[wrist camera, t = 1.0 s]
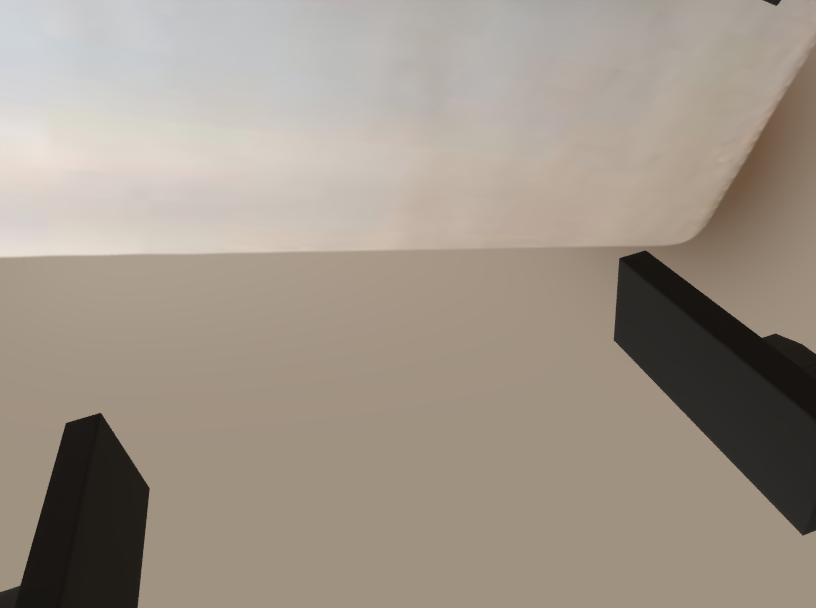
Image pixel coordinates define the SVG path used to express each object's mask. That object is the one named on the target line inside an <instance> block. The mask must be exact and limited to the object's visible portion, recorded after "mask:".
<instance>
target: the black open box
mask: <svg viewBox="0 0 816 608" xmlns="http://www.w3.org/2000/svg"><path fill="white" fill-rule="evenodd" d="M763 1H766V2H768V3H771V4H773V5H776V6H777V5H778V4H779V2H780V1H781V0H763Z"/></svg>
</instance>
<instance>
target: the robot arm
mask: <svg viewBox="0 0 816 608" xmlns="http://www.w3.org/2000/svg"><path fill="white" fill-rule="evenodd" d="M614 341H615V342H616V343H617V344H618V345H619V346H620V347H621V348H622V349H623V350H624V351H625V352H626V353H627V354H628V355H629V356H630V357H631V358H632V359H633V360H634V361H635V362H636V363H637V364H638V365H639V367H640V368H641V369H643V371H644V372H645V373H646V374H647V375H648V376H649V377H650V378H651V379H652V380H653V381H654V382H655V383H656V384H657V385H658V386H659V387H660V388H661V389H662V390H663V391H664V392H665V393H666V394H667V395H668V396H669V397H670V399H671V400H672V401H673V402H674V403H675V404H676V405H677V406H678V407H679V408H680V409H681V410H682V411H683V412H684V413H685V414H686V415H687V416H688V417H689V418H690V419H691V420H692V421H693V422H694V423H695V424H696V425H697V427H699V429H700V430H701V431H702V432H703V433H704V434H705V435H706V436H707V437H708V438H709V439H710V440H711V441H712V442H713V443H714V444H715V445H716V446H717V447H718V448H719V449H720V450H721V451H722V452H723V453H724V454H725V455H726V457H727V458H728V459H729V460H730V461H731V462H732V463H733V464H734V465H735V466H736V467H737V468H738V469H739V470H740V471H741V472H742V473H743V474H744V475H745V476H746V477H747V478H748V479H749V480H750V481H751V482H752V483H753V484H754V485H755V486H756V487H757V489H758V490H759V491H760V492H761V493H762V494H763V495H764V496H765V497H766V498H767V499H768V500H769V501H770V502H771V503H772V504H773V505H774V506H775V507H776V508H777V509H778V510H779V511H780V512H781V513H782V514H783V515H784V516H785V517H786V519H787V520H789V522H790V523H791V524H793V526H794V527H795V528H796V529H797V530H798V531H799V532H800V533H801V534H802V535H805V534H808V533H810V532H813V531H816V354H815V353H813V352H812V351H810V350H809V349H808V348H806V347H805V346H804V345H802V344H800V343H798V342H795V341H793V340H790V339H788V338H785V337H782V336H780V335H778V334H773V335H770V336H767V337H764V338H761V337H760V336H758V335H757V334H756V333H754V332H753V331H752V330H750V329H749V328H748V327H746V326H745V325H744V324H742V323H741V322H740V321H739V320H737V319H736V318H735V317H733V316H732V315H731V314H729V313H728V312H727V311H725V310H724V309H723V308H721V307H720V306H719V305H717V304H716V303H715V302H713V301H712V300H711V299H709V298H708V297H707V296H705V295H704V294H703V293H701V292H700V291H699V290H697V289H696V288H695V287H693V286H692V285H691V284H690V283H688V282H687V281H686V280H684V279H683V278H682V277H680V276H679V275H678V274H676V273H675V272H674V271H672V270H671V269H670V268H668V267H667V266H666V265H664V264H663V263H662V262H660V261H659V260H658V259H656V258H655V257H654V256H652V255H651V254H650V253H648V252H647V251H642V252H639V253H636V254H632V255H629V256H626V257H622V258H620V259H619V273H618V287H617V303H616V318H615V332H614ZM148 499H149V487H148V485H147V484H146V482H145V481H144V479H143V478H142V476H141V474H140V473H139V471H138V470H137V468H136V467H135V465H134V463H133V462H132V460H131V459H130V457H129V456H128V454H127V453H126V451H125V450H124V448H123V446H122V445H121V443H120V442H119V440H118V439H117V437H116V436H115V434H114V432H113V431H112V429H111V428H110V426H109V425H108V423H107V422H106V420H105V419H104V417H103V415H102V414H101V413H99V414H96V415H92V416H88V417H85V418H82V419H78V420H75V421H72V422H68V423H66V425H65V429H64V432H63V436H62V440H61V443H60V447H59V450H58V454H57V458H56V461H55V465H54V468H53V471H52V476H51V479H50V483H49V486H48V490H47V493H46V497H45V500H44V504H43V507H42V511H41V514H40V518H39V522H38V525H37V529H36V532H35V536H34V539H33V543H32V546H31V550H30V554H29V557H28V561H27V564H26V568H25V571H24V575H23V579H22V582H21V586H18V587H15V588H13V589H9V590H6V591H3V592H0V608H137V607H138V597H139V587H140V578H141V567H142V558H143V548H144V538H145V528H146V518H147V508H148Z"/></svg>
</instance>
